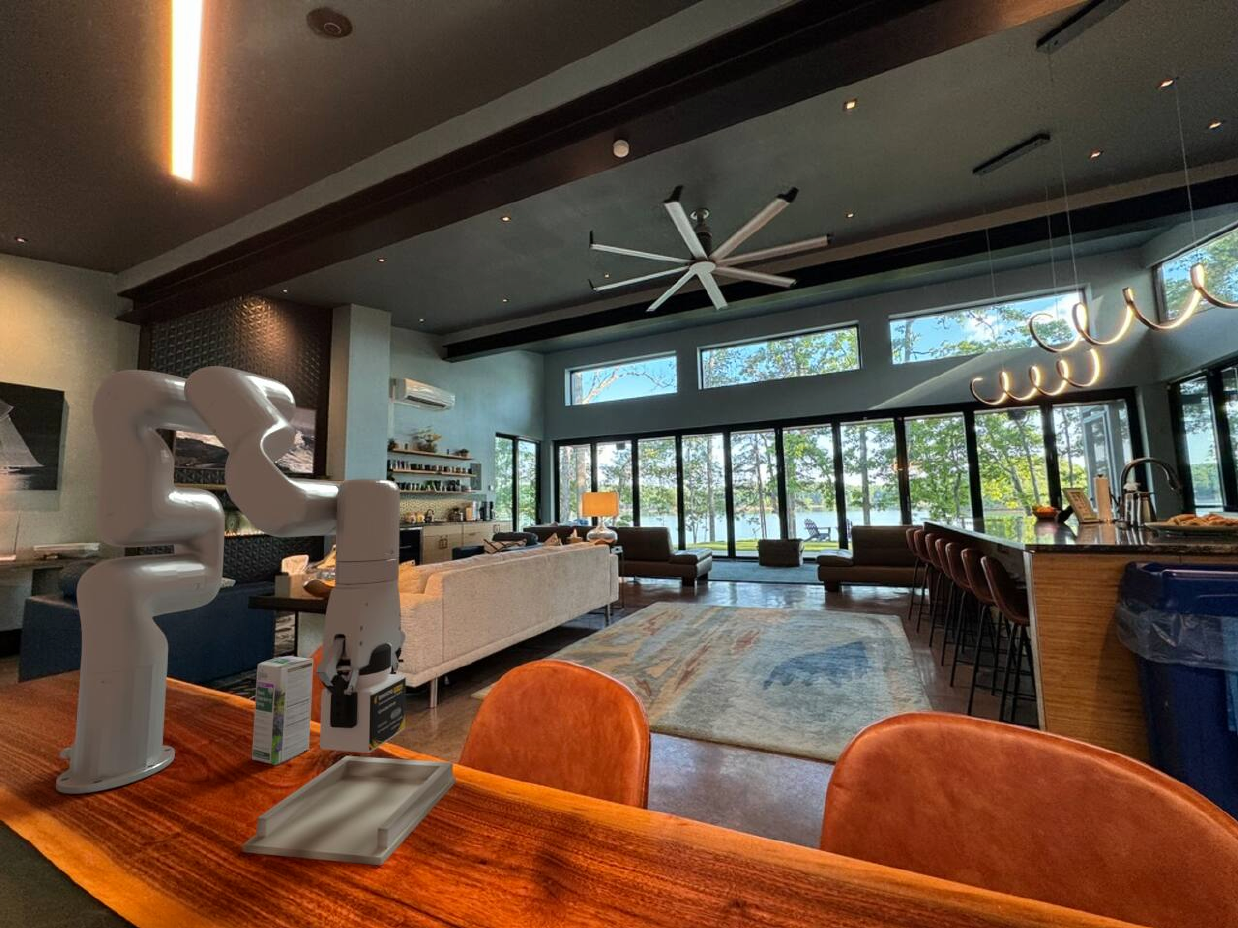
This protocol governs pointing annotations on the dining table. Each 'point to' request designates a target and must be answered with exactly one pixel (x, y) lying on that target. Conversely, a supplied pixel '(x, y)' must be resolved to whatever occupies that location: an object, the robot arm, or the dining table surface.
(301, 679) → the syrup box
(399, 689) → the medicine bottle
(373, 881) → the dining table surface
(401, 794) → the bottle stand
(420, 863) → the dining table surface
